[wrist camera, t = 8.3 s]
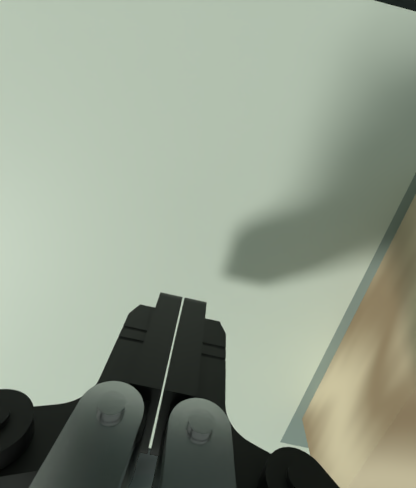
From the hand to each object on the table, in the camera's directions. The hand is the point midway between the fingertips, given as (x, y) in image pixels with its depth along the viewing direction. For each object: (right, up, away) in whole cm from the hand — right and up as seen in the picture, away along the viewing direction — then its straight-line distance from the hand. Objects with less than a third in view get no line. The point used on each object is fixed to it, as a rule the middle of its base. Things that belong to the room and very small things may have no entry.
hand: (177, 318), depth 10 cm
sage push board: (+6, 0, +3) cm, 7 cm away
